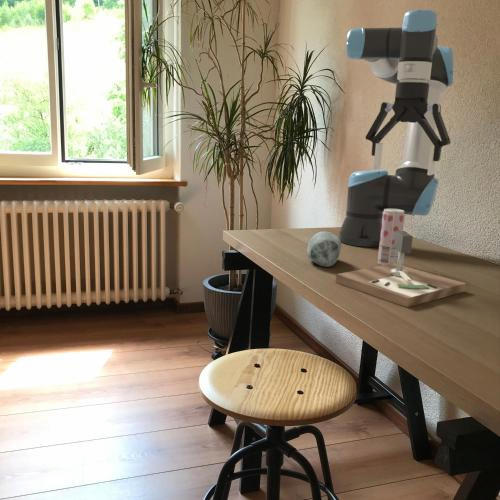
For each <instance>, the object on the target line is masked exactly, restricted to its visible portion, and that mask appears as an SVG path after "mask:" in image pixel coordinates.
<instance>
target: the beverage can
mask: <svg viewBox="0 0 500 500" xmlns="http://www.w3.org/2000/svg"><path fill="white" fill-rule="evenodd" d="M405 216H406V214H404V210H400V209H384V212H383V218H382V227H381V236H380V244H379V247H378V253H377V254H378V255H377V264H378V265H379V266H383V265H388V264H393V263H396V264H397V261H398V253H399V251H398V250H397V249H396V248H395V247H394V240H395V232H396V231H404V224H405Z"/></svg>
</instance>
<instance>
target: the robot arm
mask: <svg viewBox="0 0 500 500" xmlns="http://www.w3.org/2000/svg"><path fill="white" fill-rule="evenodd" d="M437 22H438V13H437V12H436V11H435V10H431V9H412V10H409V11H407V12H405V13H404V15H403V21H402V25H401V26H400V27H356V28H351V29H349V31H348V32H347V36H346V42H345V44H346V46H345V51H346V57H347V58H348V59H350V60H358V61H359V60H364V62H366V63H367V64H368V65H369V68H370V70H371V72H372V74H373V75H374V76H376V77H377V78H378V79H380V80H382V81H385V82H387V83H391V84H394V85H395V86H396V87H395V94H394V102H393V103H390V102H388V101H387V102H385V101H383V102H382V103H381V105H380V109H379V112H378V114H377V116H376V117H375V118H374V119H375V120H374V121H373V123H372V125H371V126H370V128H369V130H368V132H367V134H366V135H365V140H367V141H370V142H371V143H372V145H371V146H372V147H371V156H373V157H374V158H373V170H372V169H371V170H359V171H354V172H352V173H351V174H350V176H349V180H348V185H347V188H348V189H347V197H346V198H347V199H346V211H345V218H344V220H343V222H342V225H341V227H340V230H339V232H338V235H337V237H338V238H339V239H340V241H341V244H345V245H350V246H355V247H356V246H357V247H365V248H367V247H368V248H377V247H378V248H379V244H380V236H381V227H382V218H383V212H384V209H400V210H404V214H405V215H409V216H410V215H411V216H414V217H415V216H422V217H423V216H427V215H430V213H431V210H432V208H433V205H434V201H435V198H436V194H437V192H438V191H437V190H438V187H439V179H438V178H436V177H435V173H436V172H435V166H436V162H439V161H440V160H441V154H442V148H443V147H444V146H448V145H449V146H450V144H451V142H452V141H451V139H450V136H449V133H448V130H447V127H446V124H445V122H444V119H443V117H442V111H441V110H442V109H441V107H442V106H441V104H440V103H441V96H442V95H444V94H445V93H446V92H447V91H448V87H451V86H452V85H453V81H454V51H453V49H452V48H451V47H449V46H440V45H438V40H439V39H438V36H437V34H436V33H437V32H436V31H437V27H438V23H437ZM391 110H392V111H393V113H394V114H393V116H391V118H390V119H389V121H388V122H387V123H386V124H385V125H384V126H383V127H382V128H381V126H382V125H383V122H385V119H386V117H387V115H388V113H390V112H391ZM398 123H407V126H406V127H407V128H406V135H405V142H404V147H403V148H404V149H403V154H402V161H401V165H400V166H398V167H397V168H396V169H395V175H393V174H389V172H388V170H387V169H381V165H382V157H383V145H384V143H382V142H381V141H382V140H383V139H384V138H385V137H386V135H388V134H389V132H391V130H392V129H393V128H395V126H396V125H397V124H398ZM380 128H381V129H380ZM437 132H438V134H439V136H438V134H437ZM439 137H440V138H439Z"/></svg>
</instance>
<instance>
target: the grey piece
mask: <svg viewBox="0 0 500 500" xmlns="http://www.w3.org/2000/svg"><path fill="white" fill-rule="evenodd" d="M413 239H414V238H413V235H411V234H410V233H408V232H407V231H406V230H403V231H396V232H395V240H394V247H395V248H396V249H397V250H398V251H399V253H398V261H397V268H393V269H391V272H390V274H391V275H393V276H397V277H403V278H404V279H405V280H406V281H407V282H411V279H410V278H409V277H408V271H407V270H405V269H403V266H404V262H405V254H411V253H412V246H413V245H412V244H413Z"/></svg>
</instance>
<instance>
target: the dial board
mask: <svg viewBox="0 0 500 500" xmlns="http://www.w3.org/2000/svg"><path fill="white" fill-rule="evenodd" d="M393 268H397V264H396V263H393V264H388V265H383V266H382V265H379V266H373V267H368V268H363V269H357V270H352V271H346V272H342V273H341V272H339V273H337V274H336V276H335V283H336V284H339V285H342V286H345V287H347V288H351V289H354V290H356V291H359V292H363V293H366V294H368V295H370V296H373V297H377V298H379V299H381V300H385V301H388V302H390V303H394V304H395V305H400V306H401V307H404V308H409V307H414V306H417V305H421V304H425V303H429V302H432V301H435V300H439V299H442V298H446V297H450V296H453V295H458V294H460V293H464V292H466V287H467V286H466V285H467V283H466V282H463V281H459V280H456V279H453V278H448V277H445V276H442V275H438V274H435V273H431V272H427V271H423V270H421V269H416V268H413V267H410V266H406V265H403V269H405V270H407V271H408V277H409V278H410V279H411V282H407V281H406V280H405V279H404V278H403V277H397V276H393V275H391V274H390V272H391V269H393Z"/></svg>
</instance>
